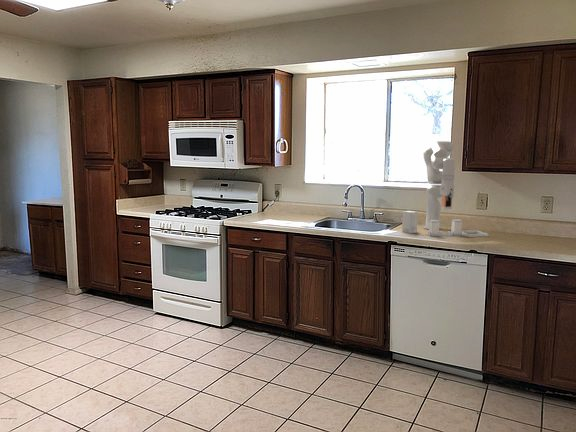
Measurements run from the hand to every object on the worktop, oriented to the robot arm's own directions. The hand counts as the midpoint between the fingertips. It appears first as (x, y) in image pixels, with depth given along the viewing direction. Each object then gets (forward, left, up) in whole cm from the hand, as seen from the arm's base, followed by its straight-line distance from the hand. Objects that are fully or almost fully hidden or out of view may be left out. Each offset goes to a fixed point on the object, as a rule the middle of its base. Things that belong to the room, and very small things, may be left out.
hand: (446, 205), depth 302 cm
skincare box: (-15, -18, -21) cm, 31 cm away
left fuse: (0, -8, -19) cm, 21 cm away
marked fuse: (0, 0, -2) cm, 2 cm away
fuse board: (0, 0, -21) cm, 21 cm away
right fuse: (0, +8, -19) cm, 21 cm away
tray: (0, +20, -21) cm, 29 cm away
